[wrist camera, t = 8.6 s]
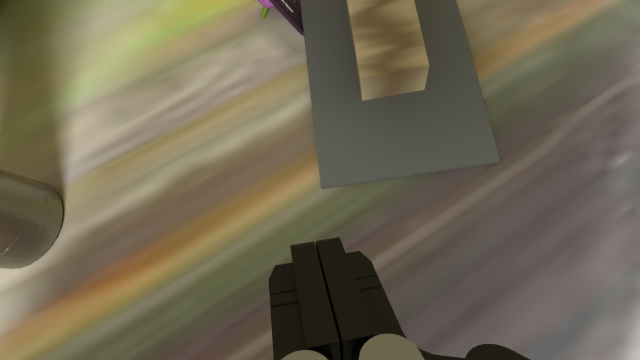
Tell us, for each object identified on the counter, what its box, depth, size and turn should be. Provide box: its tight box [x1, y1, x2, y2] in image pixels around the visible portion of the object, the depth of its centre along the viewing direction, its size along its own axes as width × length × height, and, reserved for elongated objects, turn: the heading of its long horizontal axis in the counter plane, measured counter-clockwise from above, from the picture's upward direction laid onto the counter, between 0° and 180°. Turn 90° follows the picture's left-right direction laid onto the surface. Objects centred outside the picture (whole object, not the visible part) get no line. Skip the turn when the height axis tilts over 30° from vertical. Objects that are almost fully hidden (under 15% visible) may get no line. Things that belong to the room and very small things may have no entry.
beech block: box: [346, 0, 429, 101], centre depth 36 cm, size 6×4×15 cm
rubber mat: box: [300, 0, 500, 189], centre depth 37 cm, size 16×24×1 cm
